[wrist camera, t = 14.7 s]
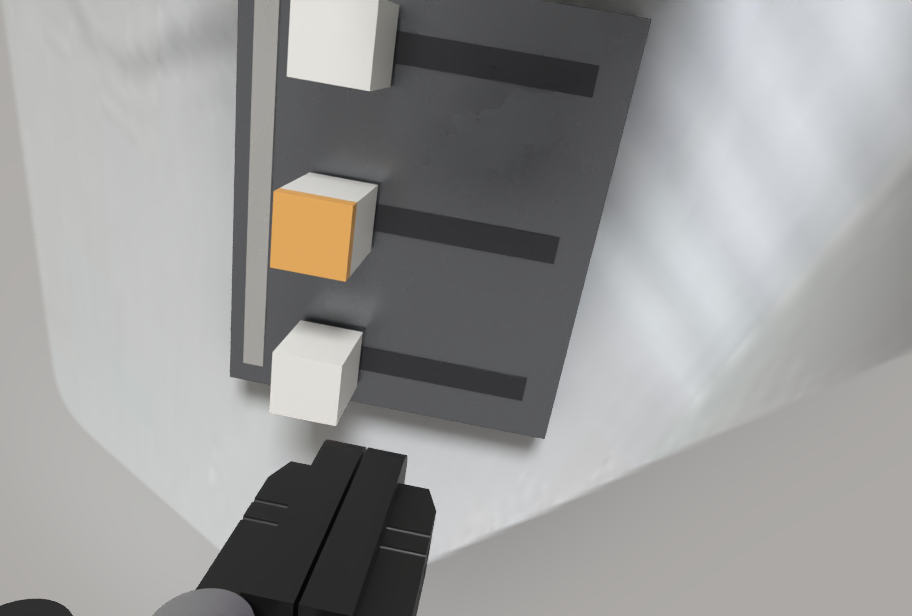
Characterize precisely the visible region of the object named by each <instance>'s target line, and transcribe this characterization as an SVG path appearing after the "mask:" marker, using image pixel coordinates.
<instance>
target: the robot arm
mask: <svg viewBox="0 0 912 616" xmlns="http://www.w3.org/2000/svg"><path fill="white" fill-rule="evenodd" d="M406 467H407V455H403V454H398V453H393V452H388V451H383V450H378V449H373V448H368V449H367V450H366V447H362V446H357V445H352V444H347V443H342V442H337V441H332V440H326V441H325V442H324V443H323V445H322V447H321V448H320V450H319V452H318V454H317V456H316V457H315V459H314V461H313V463H312V465H306V464H301V463H297V462H292V461H291V462H290V463H288V464H287V465H285V466H284V467H282V468H281V469H279V470H278V471H276V472H275V473H274V474H272V475H271V476H269V477H268V478H267V480H266V481H265V483H264V485H263V486H262V488H261V489H260V491H259V492H258V494H257V495H256V497H255V500H254V502H252V503H251V505H250V506H249V508H248V509H247V511H246V513H245V514H244V517H243V520H240V522H239V523H238V525H237V526H236V528H235V530H234V531H233V533H232V534H231V536H230V537H229V539H228V540H227V542H226V544H225V545H224V547H223V548H222V550H221V551H220V553H219V554H218V556H217V558H216V559H215V561H214V562H213V564H212V565H211V567H210V568H209V570H208V572H207V573H206V575H205V576H204V578H203V579H202V581H201V582H200V584H199V586H198V587H197V588H196V590H193V591H190V592H187V593H184V594H182V595H179V596H177V597H175V598H173V599H172V600H170V601H169V602H167V603H165V604H164V605H163V606H162V607H161V608H159V609H158V610H157V611H156V612H155V614H154V615H153V616H416V614H417V610H418V605H419V600H420V596H421V592H422V587H423V582H424V578H425V573H426V567H427V561H428V555H429V550H430V544H431V538H432V532H433V526H434V521H435V515H436V510H435V506H434V503H433V500H432V497H431V494H430V491H429V489H425V488H420V487H415V486H410V485H405V484H404V481H405V474H406ZM0 616H73V615H72V614H71V613H70V611H69V610H68V609H67V608H66V607H65V606H63V605H61V604H59V603H57V602H55V601H51V600H46V599H26V600H19V601H14V602H11V603H7V604H4V605H1V606H0Z"/></svg>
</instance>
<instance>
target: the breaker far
mask: <svg viewBox="0 0 912 616" xmlns="http://www.w3.org/2000/svg"><path fill="white" fill-rule="evenodd" d="M362 335H363V332H360V331H354V330H349V329H344V328H339V327H334V326H328V325H323V324H318V323H313V322H308V321H303V320H300V321H299V323H298V324H297V325H296V326H295V327H294V328H293V329H292V331H291V332H290V333H289V334H288V335H287V336H286V337H285V339H284V340H283V341H282V342H281V343H280V344H279V346H278V347H277V348H276V349H275V350H274V351H273V352H272V372H271V391H270V411H269V413H272V414H277V415H282V416H287V417H292V418H297V419H302V420H307V421H312V422H317V423H322V424H327V425H332V426H336V425H337V424H338V422H339V420H340V418H341V416H342V414H343V412H344V410H345V408H346V406H347V405H348V403H349V401H350V399H351V397H352V395H353V393H354V391H355V389H356V387H357V379H358V370H359V361H360V352H361V344H362Z"/></svg>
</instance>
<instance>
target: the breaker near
mask: <svg viewBox="0 0 912 616" xmlns="http://www.w3.org/2000/svg"><path fill="white" fill-rule="evenodd" d="M398 14H399V5H398V4H395V3H393V2H390V1H388V0H291V2H290V21H289V41H288V60H287V77H292V78H298V79H303V80H309V81H315V82H320V83H326V84H331V85H337V86H343V87H348V88H354V89H360V90H365V91H373V90H378V89H383V88H388V87H390V85H391V76H392V67H393V58H394V49H395V40H396V31H397V23H398Z"/></svg>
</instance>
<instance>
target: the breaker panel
mask: <svg viewBox="0 0 912 616" xmlns="http://www.w3.org/2000/svg"><path fill="white" fill-rule="evenodd" d="M388 1H390V2H393V3H395V4H398V5H399V14H398V23H397V31H396V40H395V49H394V58H393V67H392V76H391V85H390V87H388V88H383V89H378V90H373V91H365V90H360V89H354V88H348V87H343V86H337V85H331V84H326V83H320V82H315V81H309V80H303V79H298V78H292V77H287V60H288V41H289V21H290V2H291V0H238V41H237V86H236V131H235V175H234V220H233V265H232V310H231V354H230V377H234V378H239V379H244V380H249V381H254V382H259V383H264V384H270V385H271V372H272V352H273V351H274V350H275V349H276V348H277V347H278V346H279V344H280V343H281V342H282V341H283V340H284V339H285V337H286V336H287V335H288V334H289V333H290V332H291V331H292V329H293V328H294V327H295V326H296V325H297V324H298V323H299V321H300V320H303V321H308V322H313V323H318V324H323V325H328V326H334V327H339V328H344V329H349V330H354V331H360V332H363V335H362V344H361V352H360V361H359V370H358V379H357V387H356V389H355V391H354V393H353V395H352V397H351V399H350V401H355V402H360V403H366V404H371V405H376V406H381V407H386V408H391V409H396V410H401V411H406V412H411V413H416V414H421V415H426V416H431V417H436V418H441V419H446V420H451V421H457V422H462V423H467V424H472V425H477V426H482V427H487V428H492V429H497V430H502V431H507V432H512V433H517V434H522V435H527V436H532V437H537V438H542V439H545V435H546V431H547V427H548V423H549V419H550V415H551V412H552V408H553V404H554V400H555V396H556V392H557V388H558V384H559V380H560V376H561V372H562V368H563V364H564V360H565V357H566V353H567V349H568V345H569V341H570V337H571V333H572V329H573V325H574V321H575V317H576V313H577V309H578V305H579V302H580V298H581V294H582V290H583V286H584V282H585V278H586V274H587V270H588V266H589V262H590V258H591V254H592V250H593V247H594V243H595V239H596V235H597V231H598V227H599V223H600V219H601V215H602V211H603V207H604V203H605V199H606V195H607V192H608V188H609V184H610V180H611V176H612V172H613V168H614V164H615V160H616V156H617V152H618V148H619V144H620V140H621V137H622V133H623V129H624V125H625V121H626V117H627V113H628V109H629V105H630V101H631V97H632V93H633V89H634V85H635V82H636V78H637V74H638V70H639V66H640V62H641V58H642V54H643V50H644V46H645V42H646V38H647V34H648V30H649V27H650V23H651V19H649V18H643V17H637V16H631V15H625V14H619V13H613V12H607V11H601V10H595V9H590V8H584V7H578V6H572V5H566V4H560V3H554V2H548V1H542V0H388ZM309 172H311V173H316V174H322V175H327V176H332V177H338V178H343V179H349V180H354V181H360V182H365V183H371V184H376V185H378V190H377V199H376V208H375V217H374V226H373V235H372V244H371V252H370V253H369V254H368V255H367V256H366V258H365V259H364V260H363V261H362V263H361V264H360V265H359V266H358V267H357V269H356V270H355V271H354V272H353V273H352V275H351V276H350V277H349V278H348V280H347V281H346V282H344V281H339V280H334V279H328V278H323V277H318V276H313V275H307V274H302V273H297V272H292V271H286V270H281V269H276V268H271V267H270V256H271V235H272V214H273V192H274V191H275V190H277V189H279V188H281V187H282V186H284V185H286V184H288V183H290V182H292V181H294V180H296V179H298V178H300V177H302V176H304V175H306V174H307V173H309Z"/></svg>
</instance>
